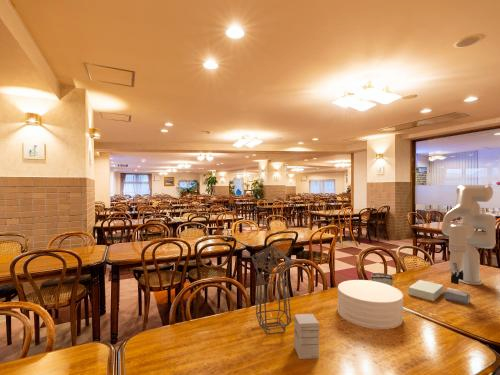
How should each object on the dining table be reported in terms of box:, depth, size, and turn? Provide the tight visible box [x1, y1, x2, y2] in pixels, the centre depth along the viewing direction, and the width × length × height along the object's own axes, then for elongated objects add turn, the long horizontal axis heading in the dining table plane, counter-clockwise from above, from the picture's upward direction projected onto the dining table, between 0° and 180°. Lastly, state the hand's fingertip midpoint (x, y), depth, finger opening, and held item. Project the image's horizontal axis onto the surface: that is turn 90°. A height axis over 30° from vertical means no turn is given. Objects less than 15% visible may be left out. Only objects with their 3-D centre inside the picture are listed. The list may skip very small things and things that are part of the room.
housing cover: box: [445, 287, 469, 297], centre depth 151 cm, size 4×9×2 cm, turn 41°
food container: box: [370, 272, 395, 287], centre depth 162 cm, size 12×6×10 cm, turn 84°
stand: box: [408, 279, 444, 302], centre depth 160 cm, size 18×12×4 cm, turn 132°
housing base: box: [443, 290, 471, 306], centre depth 151 cm, size 5×10×4 cm, turn 42°
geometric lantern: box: [250, 245, 295, 335], centre depth 121 cm, size 16×16×35 cm
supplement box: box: [293, 313, 320, 360], centre depth 104 cm, size 7×7×13 cm
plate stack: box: [337, 279, 404, 330], centre depth 135 cm, size 28×28×12 cm
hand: (457, 281), depth 150 cm, fingers open, 9 cm apart
